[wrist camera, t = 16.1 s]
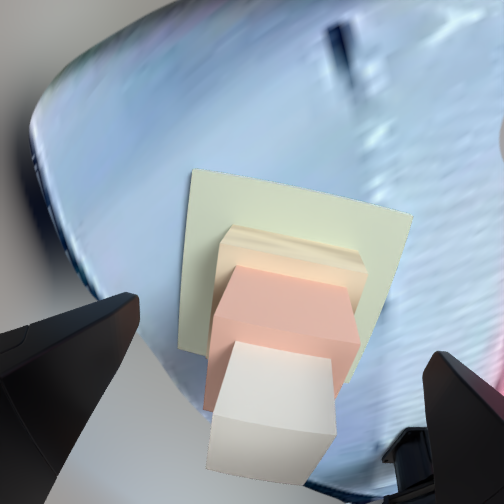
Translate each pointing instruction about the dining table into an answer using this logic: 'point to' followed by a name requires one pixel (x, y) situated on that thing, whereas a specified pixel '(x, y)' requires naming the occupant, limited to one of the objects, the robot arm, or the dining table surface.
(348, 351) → the coral block
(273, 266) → the block
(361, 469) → the dining table surface
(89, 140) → the dining table surface
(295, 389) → the cap block
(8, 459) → the robot arm
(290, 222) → the baseplate
